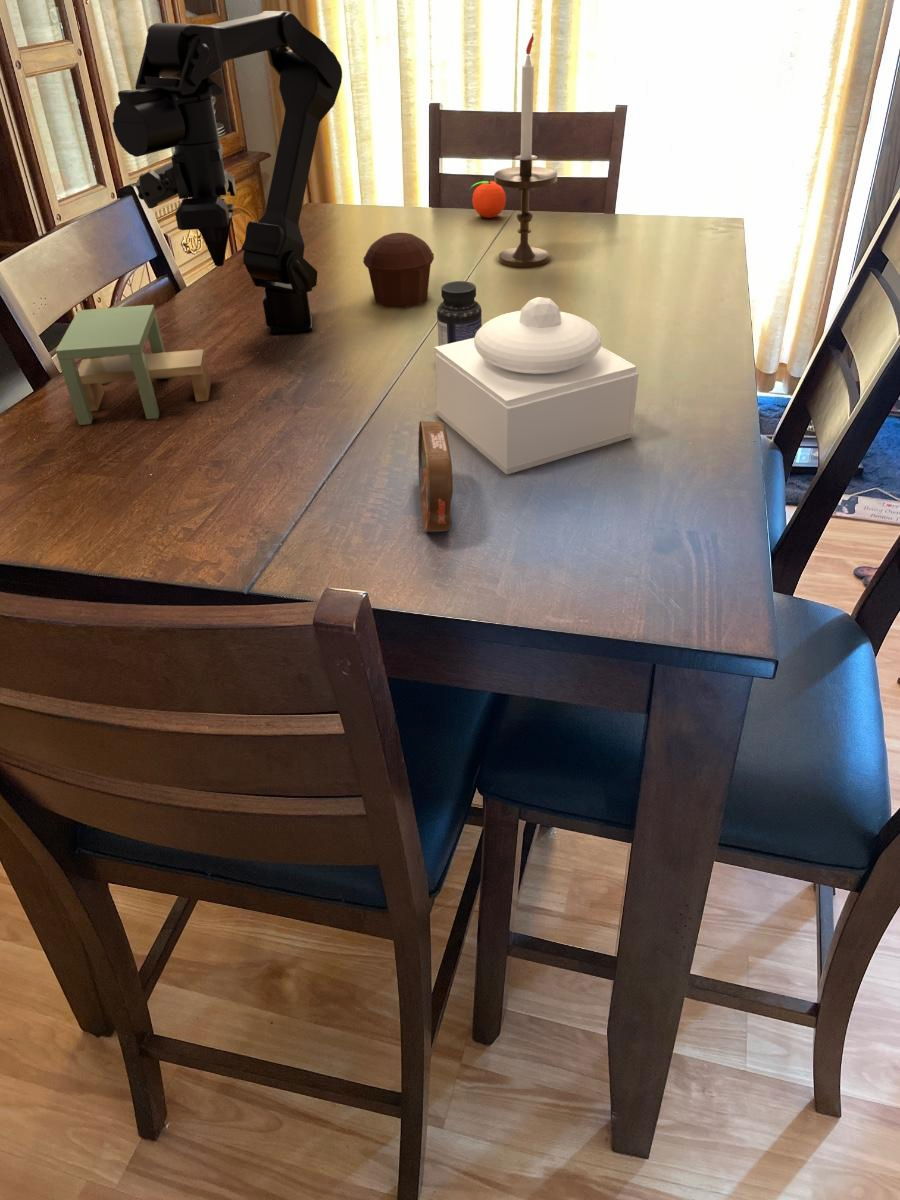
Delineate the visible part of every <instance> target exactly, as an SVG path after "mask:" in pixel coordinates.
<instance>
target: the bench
mask: <svg viewBox="0 0 900 1200" xmlns="http://www.w3.org/2000/svg"><path fill="white" fill-rule="evenodd" d="M144 355H145V359H146V362H147V366H148V370H149V374H150V378H151V379H158V378H162V377H169V378H171V377H185V376H189V377H190V381H191V385H192V390H193V394H194V395H193V396H194V399H195V402H196V403H199V402H200V403H201V402H208V401H209V399H210V398H209V397H210V392H211V386H212V382H211V377H210V373H209V367H208V363H207V359H206V354H205V350H204V348H203V349H202V348H201V349H191V350H190V349H188V350H178V351H167V352H166V351H165V353H153V354H152V353H144ZM77 369H78V372H79V375H80V378H81V382H82V385H83V388H84V391H85V395H86V398H87V401H88V404H89V407H90V411H91V412H98V411H99V408H100V406H101V403H102V400H103V399H104V395H105V390H104V386H103V384H102V383H105V382H108V383H114V382H126V381H136V378H135V374H134V371H133V367H132V363H131V359H130V356H129V355H116V356H104V357H103V358H93V359H89V358H82V359H81V362H80V364H79V366H78V367H77Z"/></svg>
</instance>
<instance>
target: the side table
mask: <svg viewBox="0 0 900 1200" xmlns="http://www.w3.org/2000/svg"><path fill="white" fill-rule="evenodd" d="M160 329H161V328H160V325H159V321H158V315H157V312H156V308H155V305H154V304H144V305H129V306H119V307H104V308H91V309H89V308H88V309H78V310H77V311H76V314H75V315H74V316H73V319H72V320H71V323H70V324H69V326H68V327H67V329H66V331H65V333H64V335H63V337H62V338H61V340H60V342H59V343H58V346H57V348H56V349H55V354H56V357H57V360H58V363H59V366H60V369H61V373H62V376H63V379H64V382H65V386H66V388H67V391H68V395H69V397H70V400H71V404H72V407H73V410H74V413H75V416H76V419H77V423H78V426H84V425H85V426H86V425H92V423H93V420H94V418H93V417H94V416H93V415H92V414H93V413H92V411H90V407H89V404H88V401H87V398H86V395H85V391H84V388H83V385H82V382H81V378H80V375H79V372H78V366H77V362H76V359H93V358H104V357H116V356H130V359H131V363H132V367H133V371H134V374H135V378H136V380H135V381H136V385H137V389H138V392H139V393H138V394H139V396H140V401H141V404H142V408H143V411H144V415H145V419H146V420H154V419H155V420H157V419H159V416H160V410H159V405H158V402H157V399H156V394H155V390H154V386H153V382H152V378H150V374H149V370H148V366H147V362H146V359H145V355H144V354H145V351H144V348H145V344H146V341H147V339H148V343H149V346H150V350H151V351H150V352H151V354H153V353H165V352H166V350H165V345H164V341H163V337H162V333H161V330H160ZM157 379H158V380H165V379H166V380H167V379H170V377H162V378H157ZM108 383H109V382H105V383H102V385H106V384H107V385H108Z"/></svg>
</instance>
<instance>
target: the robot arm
mask: <svg viewBox="0 0 900 1200" xmlns="http://www.w3.org/2000/svg"><path fill="white" fill-rule="evenodd" d="M288 48H289V49H288ZM262 52H267V57H268V62H269V65H270V66H271V67H272V69H273V70H274V71H275V73H277V75H278V76H279V81H278V90H279V94H280V97H281V101H282V104H283V107H284V115H283V121H282V126H281V131H280V136H279V140H278V145H277V151H276V157H275V159H274V160H275V161H274V166H273V170H272V171H273V172H272V176H271V181H270V185H269V189H268V190H269V191H268V197H267V200H266V206H265V210H264V214H263V215H262V216H261V218H260V219H259V220H258V221H257V222H256V221H252V220H250V221H248V223H247V224H246V227H245V237H244V241H243V244H242V245H241V251H243V253H242V254H243V256H242V264H243V265H244V266H245V268H246V271H247V273H248V274H249V276H250V278H251V280H252V282H253V285H254V286H255V288H259V287H260V288H264V293H265V294H263V296H262V306H263V312H264V319H265V323H266V324H265V325H266V327H268V328H269V334H271V335H276V334H277V335H278V334H289V333H302V332H311V331H313V315H312V313H311V309H310V308H311V307H310V301H309V300H310V299H309V292H312V291H313V288H315V287H317V284H318V271H317V269H316V268H315V267H314V266H313V265H311V264H310V263H309V261H307V260H306V259H305V257H304V256H305V242H304V238H303V235H302V233H301V229H300V225H299V224H300V218H301V213H302V208H303V204H304V198H305V194H306V190H307V189H306V188H307V183H308V179H309V175H310V169H311V165H312V161H313V155H314V151H315V146H316V141H317V136H318V133H319V132H318V131H319V127H320V124H321V122H322V120H323V119H324V118H325V117H326V115H328V114H329V112H330V110H331V109H332V108H333V107H334V106H335V104H336V100H337V97H338V94H339V91H340V89H341V85H342V80H343V70H342V65H341V64H340V61H339V60H338V58H337V55H336V54H335V53H334V52H333V51H332V50H331V49H330V48H329V46H328V45H327V44H326V42H324V41H323V40H322V39H321V38H319V37H318V36H316V35H315V34H314V33H312V31H310V30H309V29H307V27H305V26H303V24H302V22H301V21H300V20H299V19H298V17H297V16H296V15H294V14H293V13H291V12H290V11H285V10H283V11H282V10H263V11H261V13H259V14H253V15H250V16H245V17H239V18H235V19H230V20H226V21H221V22H215V23H211V24H198V23H173V22H155V23H153V24H151V25H150V26H149V27H148V28H147V35H146V41H145V45H144V49H143V54H142V57H141V62H140V66H139V69H138V70H139V71H138V74H137V78H136V82H135V87H134V88H135V89H133V90H132V89H123V90H118V92H117V96H118V101H119V103H118V104H117V105H116V107H115V109H114V111H113V121H112V123H111V124H112V129H113V133H114V135H115V138H116V139H117V141H118V143H119V145H120V146H121V147H122V149H123V150H124V151H125V152H126V153H128V154H129V155H130V156H132V157H137V158H139V157H143V156H146V155H150V154H154V153H157V152H161V151H164V150H168V149H171V148H174V152H173V154H172V155H171V162H170V163H167V164H165V165H163V166H160V167H158V168H157V169H154V170H153V169H148V171H147V172H145V173H140V175H139V177H138V179H137V181H136V182H135V184H134V187H135V188H136V190H137V192H138V193H137V196H138V197H137V198H139V199H140V200H143V202H144V203H145V205H146V207H147V209H149V210H150V209H153V208H155V207H157V206H158V204H160V203H161V202H164V201H166V200H169V199H171V198H172V197H174V196H178V199H179V200H182V201H181V202H180V203H179V205H178V206H177V208H176V211H175V213H174V215H175V221H176V226H177V229H178V230H180V231H193V230H197V231H199V233H200V235H201V237H202V239H203V242H204V244H205V246H206V249H207V251H208V253H209V256H210V257H211V259H212V262H213V264H214V266H215V267H223V266H224V263H225V258H226V253H227V247H228V242H229V235H230V230H231V225H232V219H233V213H234V208H235V205H234V204H233V203H227V202H226V199H225V198H222V196H227V195H228V193H229V194H230V195H229V196H230V197H236V193H237V188H236V181H235V177H234V176H233V175H232V174H231V173H229V172H228V171H227V170H225V167H224V161H223V154H224V150H223V144H222V143H220V137H219V131H218V126H217V125H218V124H217V121H216V114H215V109H214V103H213V98H214V97H218V96H222V95H223V94H224V88H223V87H222V86H220V85H219V84H218V83H216V82H215V81H214V80H213V79H212V77H211V76H212V75H215V74H216V73H217V72H219V71H221V69H222V67H223V65H224V64H225V63H227V62H228V61H230V60H235V59H238V58H243V57H247V56H249V55H250V56H251V55H255V54H258V53H262Z"/></svg>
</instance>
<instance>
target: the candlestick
mask: <svg viewBox="0 0 900 1200" xmlns="http://www.w3.org/2000/svg"><path fill="white" fill-rule="evenodd" d="M534 40H535V37H534V32H532V33H531V37H530V39H529V40H528V43H527V46H526V49H525V51H526V56H525V57H526V59H525V62H524V65H522V66H521V67H522V68H521V113H520V114H521V115H520V124H521V125H520V154H519V155H515V156H514V159H515V160H518V161H519V166H514V167H507V168H502V169H500V170H497V171H495V172H494V175H493V181H494V182H495V183H496V184H498V185H500V186H501V187H504V188H510V189H511V188H512V189H517V190H518V191H520V193H521V194H520V197H521V198H520V205H521V206H520V212H519V213H517V214H516V218H517V219H516V220H517V221H518V222H519V228H517V233H518V234H520V242H519V244H518V245H517V247H510V248H506V249H504V250H502V251H500V252H499V253H498V261H499V263H500V264H502V265H504V266H507V267H511V268H519V269H520V268H521V269H522V268H535V267H540V266H543V265H545V264H547V263H548V262H549V260H550V259H549V258H550V257H549V256H550V254H549V252H548V251H547V250H545V249H543V248H540V247H539V248H538V247H532V246H530V244H529V234H530V233H532V229H531V228H530V222H531V221H532V219H533V213H531V212H530V209H529V207H530V191H532V190H533V189H536V188H537V189H538V188H545V187H548V186H553V185H554V184H556V183H557V182H558V172H557V171H556V170H554V169H552V168H547V167H542V166H533V160H537V159H538V158H539V157H538V156H537V155H534V154H533V116H534V111H533V110H534V81H535V80H534V79H535V77H534V75H535V66H534V65H532V60H531V52H532V48H533V42H534Z"/></svg>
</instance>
